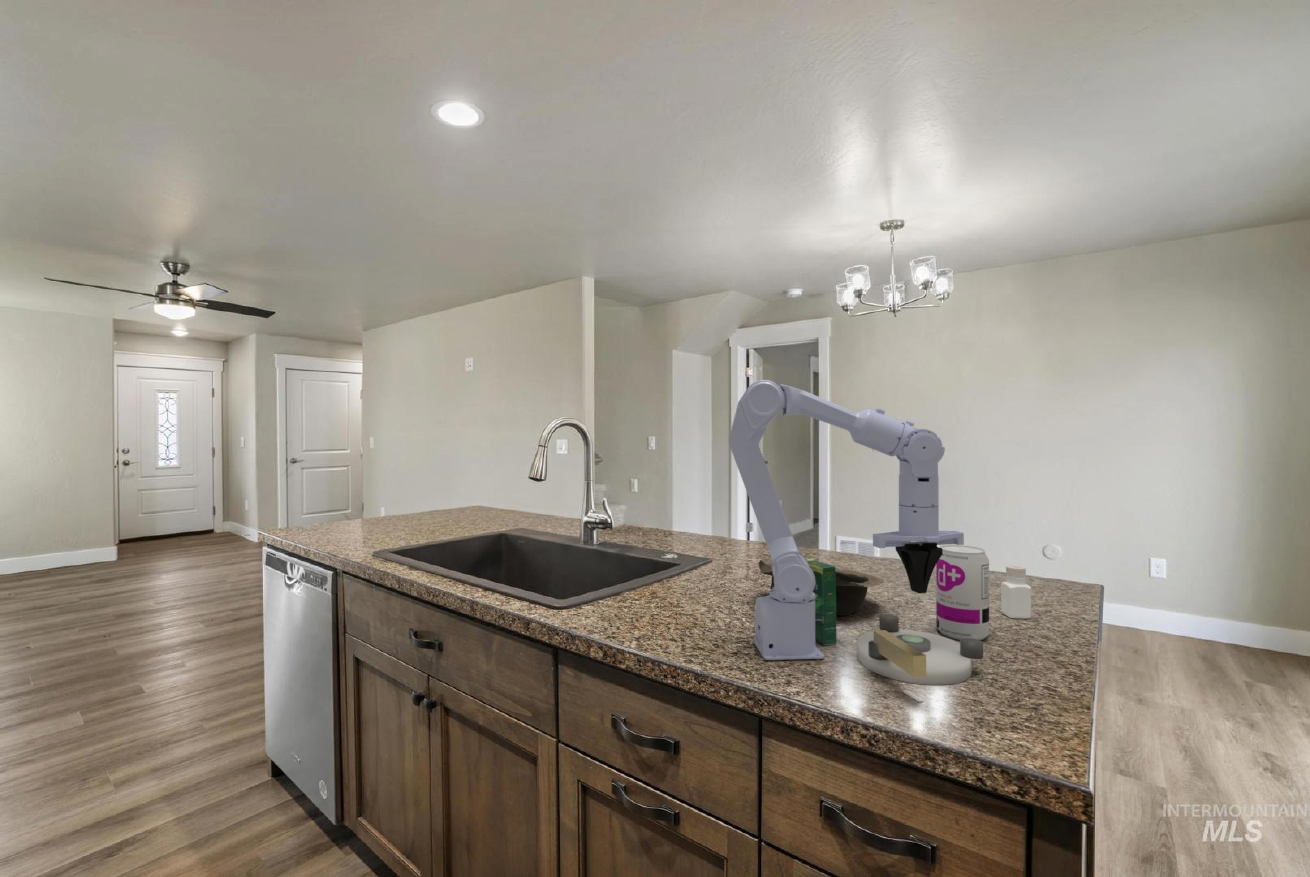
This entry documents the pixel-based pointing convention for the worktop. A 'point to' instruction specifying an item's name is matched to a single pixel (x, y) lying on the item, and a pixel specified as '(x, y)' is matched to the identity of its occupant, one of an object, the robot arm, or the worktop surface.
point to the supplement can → (962, 592)
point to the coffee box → (824, 602)
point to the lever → (897, 653)
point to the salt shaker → (1016, 593)
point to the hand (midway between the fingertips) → (918, 591)
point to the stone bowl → (842, 588)
